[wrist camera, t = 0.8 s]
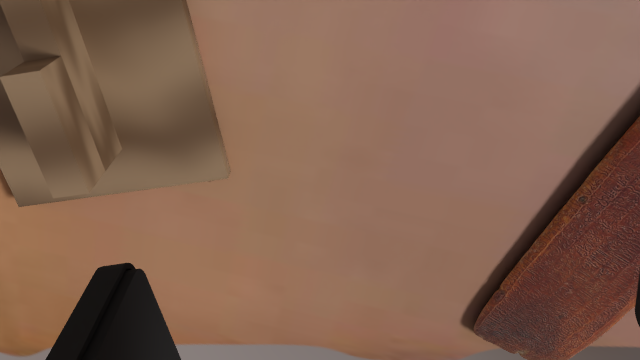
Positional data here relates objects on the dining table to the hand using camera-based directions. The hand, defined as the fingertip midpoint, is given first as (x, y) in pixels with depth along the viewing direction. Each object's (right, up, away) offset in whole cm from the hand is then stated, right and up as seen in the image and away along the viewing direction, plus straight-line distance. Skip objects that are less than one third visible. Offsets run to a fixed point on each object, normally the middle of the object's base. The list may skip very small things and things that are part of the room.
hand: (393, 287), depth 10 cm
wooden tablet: (+19, -1, +27) cm, 33 cm away
